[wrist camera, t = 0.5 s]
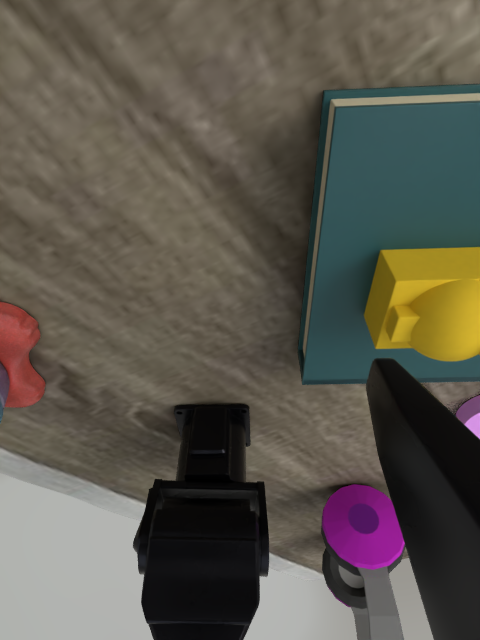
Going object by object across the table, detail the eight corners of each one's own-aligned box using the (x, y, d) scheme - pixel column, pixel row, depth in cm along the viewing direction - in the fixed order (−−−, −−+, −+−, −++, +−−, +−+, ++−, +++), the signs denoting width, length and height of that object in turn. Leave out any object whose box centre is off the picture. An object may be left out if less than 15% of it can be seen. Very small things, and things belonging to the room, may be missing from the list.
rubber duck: (363, 315, 21) (391, 397, 17) (379, 249, 18) (419, 328, 14) (494, 312, 21) (554, 394, 17) (532, 244, 18) (616, 324, 14)
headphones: (377, 538, 55) (426, 741, 41) (317, 541, 56) (344, 740, 42) (395, 475, 42) (478, 750, 27) (315, 480, 42) (353, 748, 28)
